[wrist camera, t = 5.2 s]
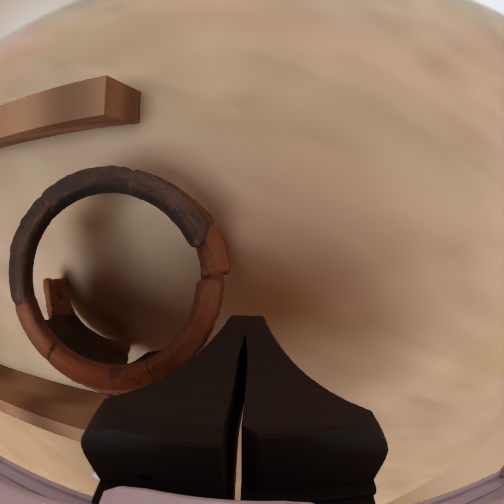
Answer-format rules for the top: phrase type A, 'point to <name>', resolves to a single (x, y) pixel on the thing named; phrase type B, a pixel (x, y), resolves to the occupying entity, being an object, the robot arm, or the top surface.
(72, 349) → the brown ring with stem
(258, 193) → the top surface
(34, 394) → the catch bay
